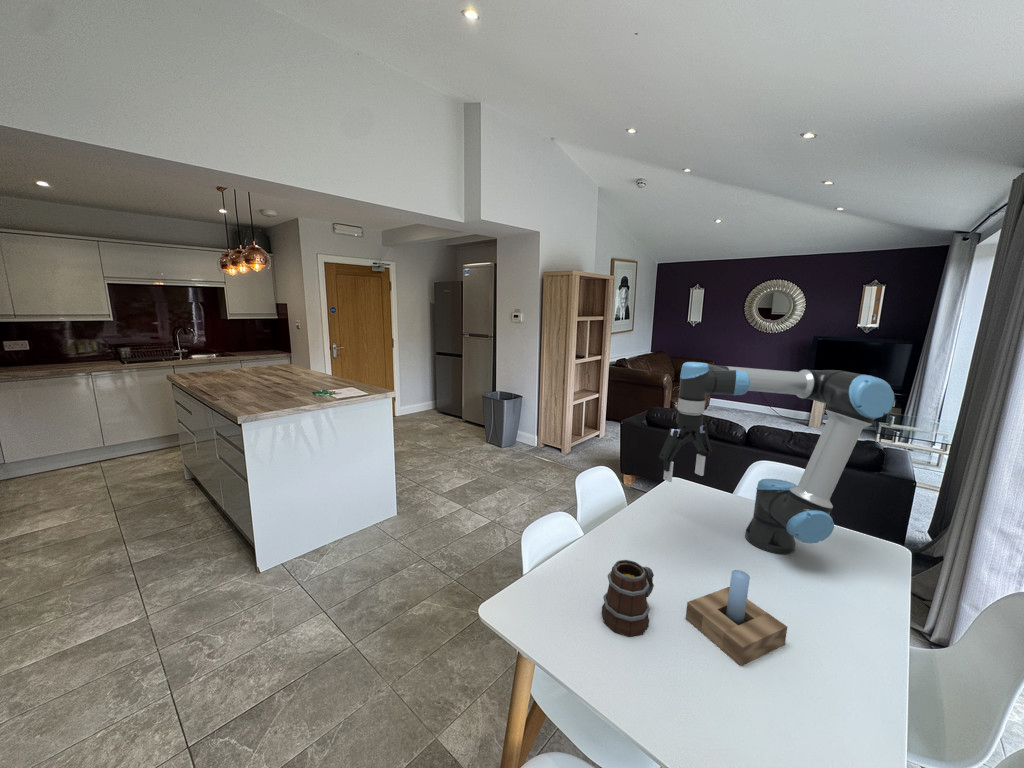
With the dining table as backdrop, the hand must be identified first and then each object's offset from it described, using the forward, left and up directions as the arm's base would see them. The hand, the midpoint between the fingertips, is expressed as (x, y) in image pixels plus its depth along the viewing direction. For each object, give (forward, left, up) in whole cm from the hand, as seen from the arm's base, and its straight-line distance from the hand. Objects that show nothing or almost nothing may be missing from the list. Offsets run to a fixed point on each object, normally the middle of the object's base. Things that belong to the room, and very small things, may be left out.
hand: (683, 477), depth 130 cm
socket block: (+10, +29, -29) cm, 42 cm away
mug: (+31, +14, -29) cm, 45 cm away
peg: (+10, +29, -29) cm, 42 cm away
